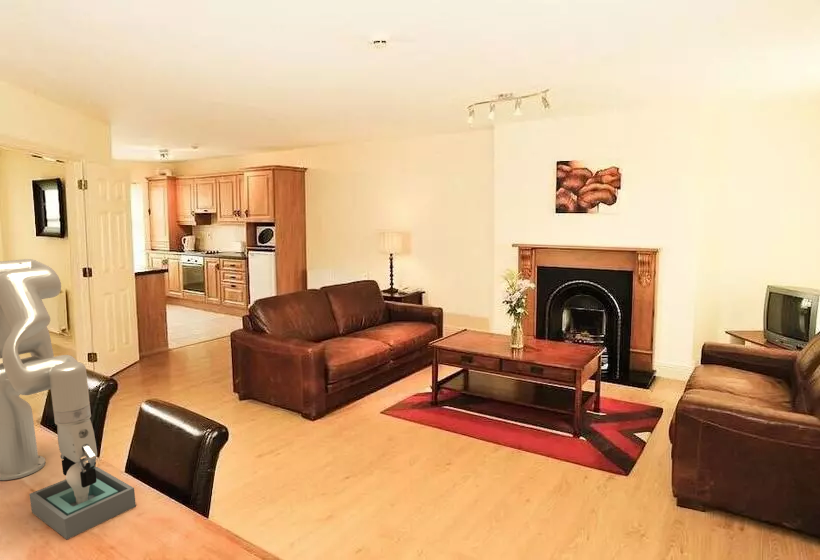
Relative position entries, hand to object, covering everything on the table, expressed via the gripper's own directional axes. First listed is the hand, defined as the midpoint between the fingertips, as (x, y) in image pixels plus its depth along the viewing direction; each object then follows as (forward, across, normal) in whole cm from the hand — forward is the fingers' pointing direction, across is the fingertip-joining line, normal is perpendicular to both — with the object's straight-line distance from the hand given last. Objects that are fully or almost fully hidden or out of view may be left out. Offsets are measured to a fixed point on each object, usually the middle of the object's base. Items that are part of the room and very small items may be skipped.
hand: (79, 478), depth 134 cm
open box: (+8, -1, 0) cm, 8 cm away
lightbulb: (+7, 0, 0) cm, 7 cm away
